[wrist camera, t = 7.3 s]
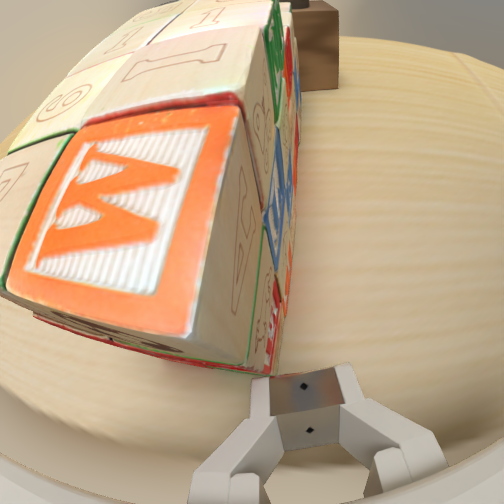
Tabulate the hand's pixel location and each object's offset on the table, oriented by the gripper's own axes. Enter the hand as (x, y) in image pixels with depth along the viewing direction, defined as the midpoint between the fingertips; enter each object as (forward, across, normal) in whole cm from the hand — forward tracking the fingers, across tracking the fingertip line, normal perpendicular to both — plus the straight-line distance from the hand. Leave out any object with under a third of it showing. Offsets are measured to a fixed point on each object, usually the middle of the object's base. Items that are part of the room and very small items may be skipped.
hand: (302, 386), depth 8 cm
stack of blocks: (+12, +1, -4) cm, 13 cm away
